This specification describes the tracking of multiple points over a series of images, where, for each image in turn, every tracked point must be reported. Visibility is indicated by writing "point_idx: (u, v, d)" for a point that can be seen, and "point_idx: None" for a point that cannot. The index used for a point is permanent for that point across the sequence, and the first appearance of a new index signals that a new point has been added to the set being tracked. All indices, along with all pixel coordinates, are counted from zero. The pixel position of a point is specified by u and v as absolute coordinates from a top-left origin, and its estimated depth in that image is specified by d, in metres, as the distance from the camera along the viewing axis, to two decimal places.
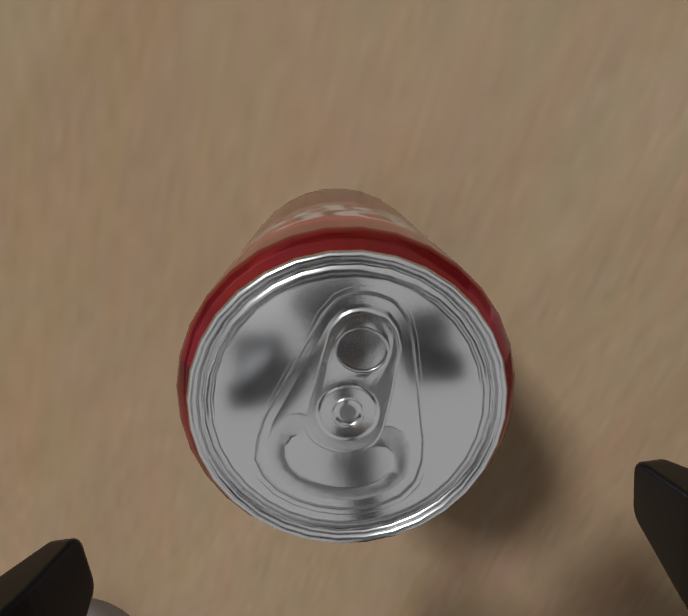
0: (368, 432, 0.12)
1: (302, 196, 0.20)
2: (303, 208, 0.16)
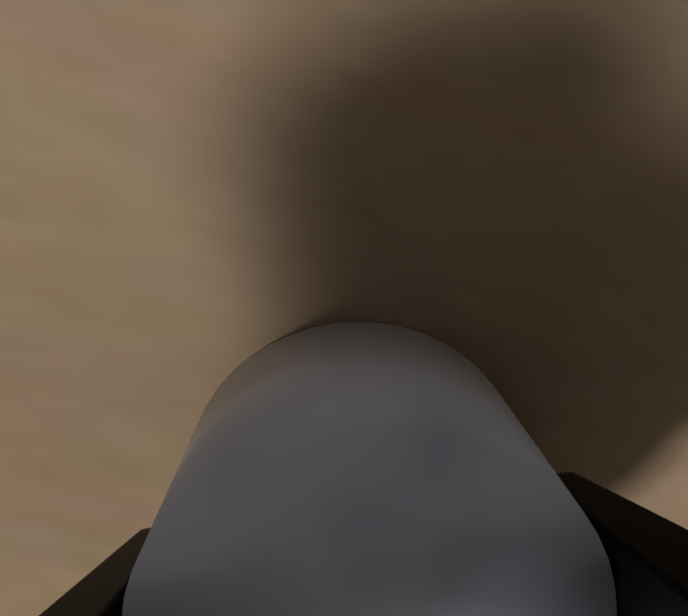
0: None
1: None
2: None
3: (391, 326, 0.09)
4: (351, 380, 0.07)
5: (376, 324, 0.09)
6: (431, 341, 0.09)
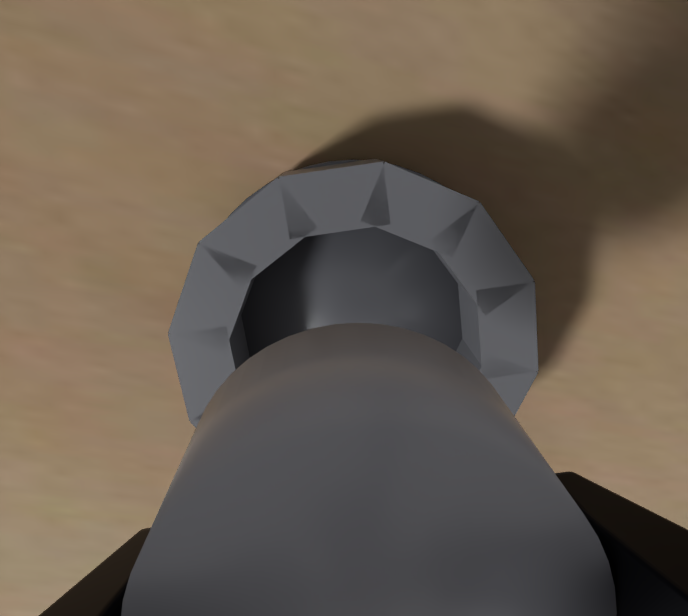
0: None
1: None
2: None
3: (391, 327, 0.09)
4: (351, 383, 0.07)
5: (376, 325, 0.09)
6: (431, 342, 0.09)
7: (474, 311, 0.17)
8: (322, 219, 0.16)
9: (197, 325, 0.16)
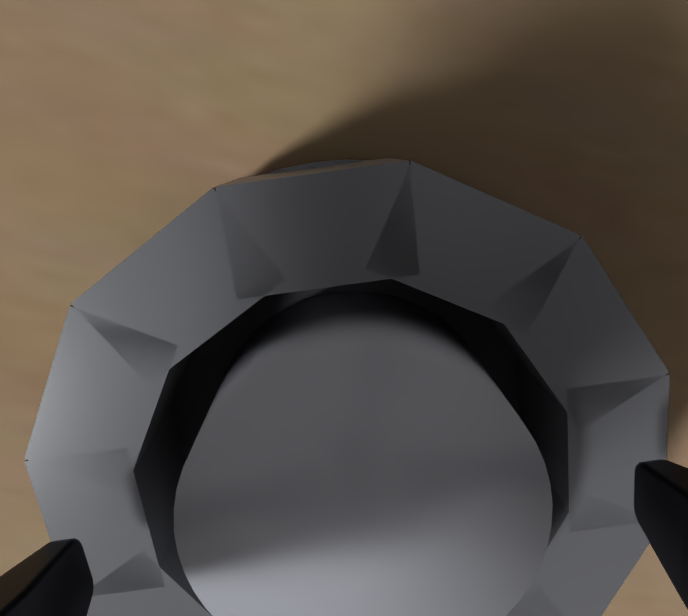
0: None
1: None
2: None
3: (383, 294, 0.11)
4: (349, 328, 0.09)
5: (371, 293, 0.11)
6: (415, 306, 0.11)
7: (557, 418, 0.10)
8: (295, 264, 0.09)
9: (76, 446, 0.09)
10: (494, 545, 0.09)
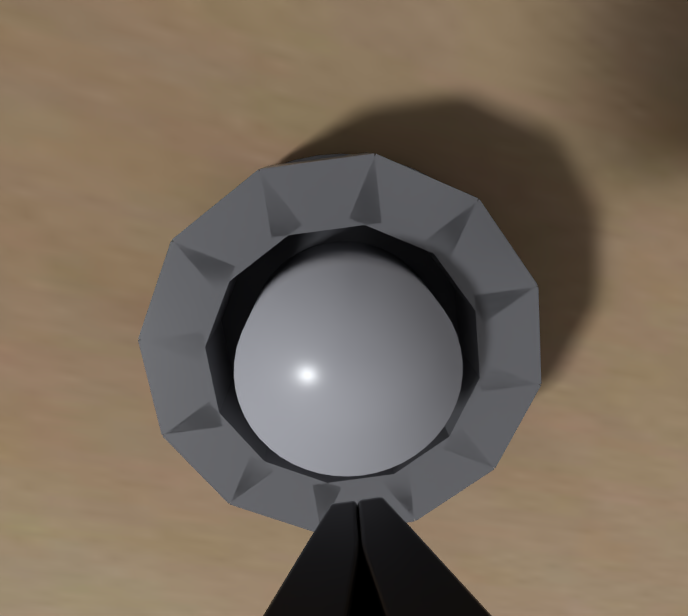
0: None
1: None
2: None
3: (364, 243, 0.17)
4: (341, 255, 0.15)
5: (356, 242, 0.17)
6: (385, 251, 0.17)
7: (472, 318, 0.16)
8: (306, 215, 0.14)
9: (170, 330, 0.15)
10: (428, 388, 0.15)
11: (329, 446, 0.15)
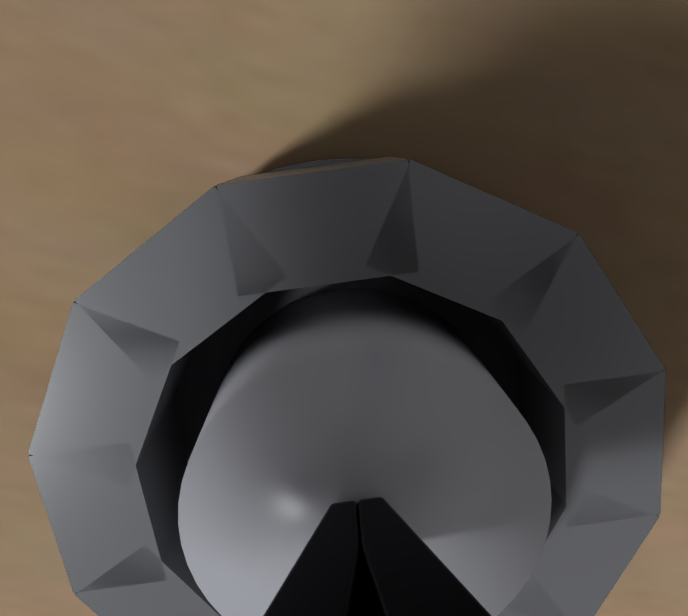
0: None
1: None
2: None
3: (385, 292, 0.11)
4: (354, 325, 0.09)
5: (374, 291, 0.11)
6: (417, 305, 0.11)
7: (554, 414, 0.10)
8: (296, 261, 0.09)
9: (79, 441, 0.09)
10: (493, 539, 0.09)
11: None
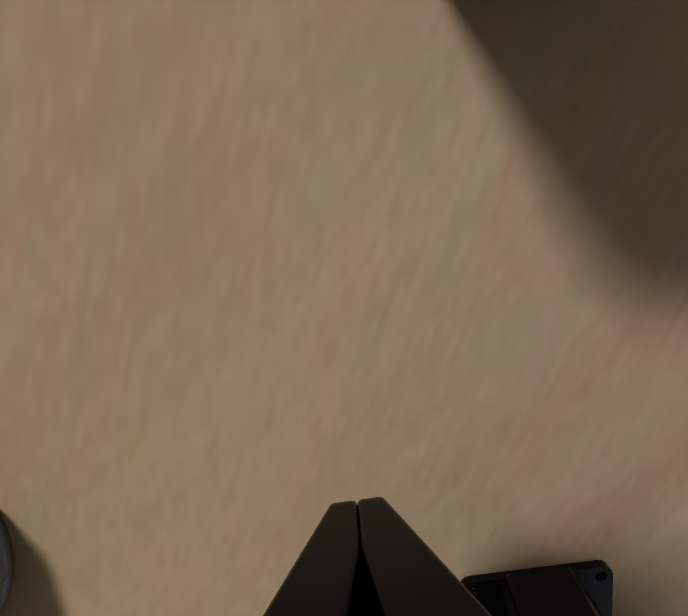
0: None
1: None
2: None
3: None
4: None
5: None
6: None
7: None
8: None
9: None
10: None
11: None
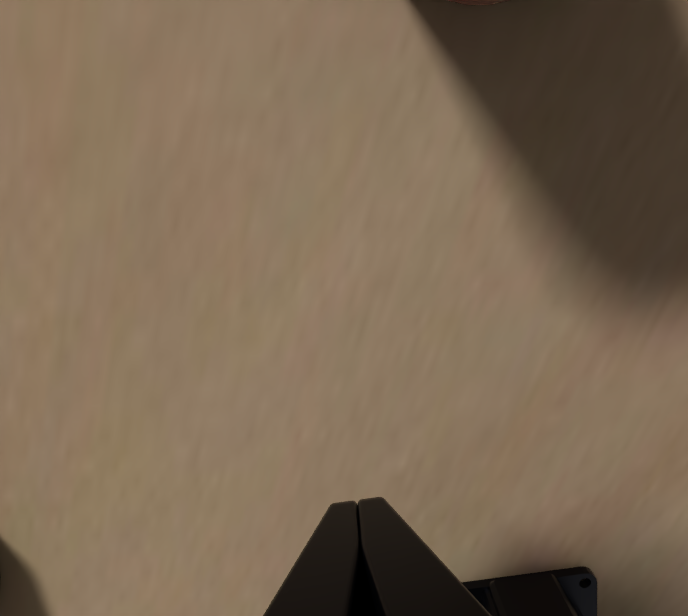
0: None
1: None
2: None
3: None
4: None
5: None
6: None
7: None
8: None
9: None
10: None
11: None
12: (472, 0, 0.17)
